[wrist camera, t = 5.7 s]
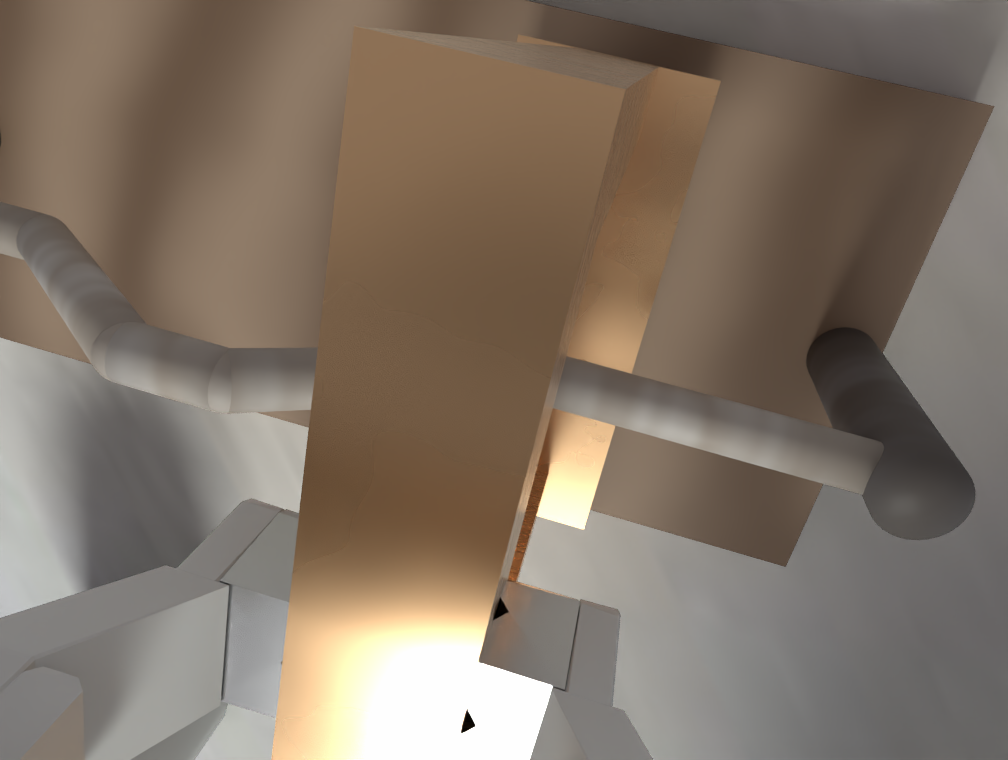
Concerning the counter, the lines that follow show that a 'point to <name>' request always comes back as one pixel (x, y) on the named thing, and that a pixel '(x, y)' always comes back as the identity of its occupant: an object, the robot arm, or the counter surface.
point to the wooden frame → (464, 358)
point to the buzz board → (583, 385)
